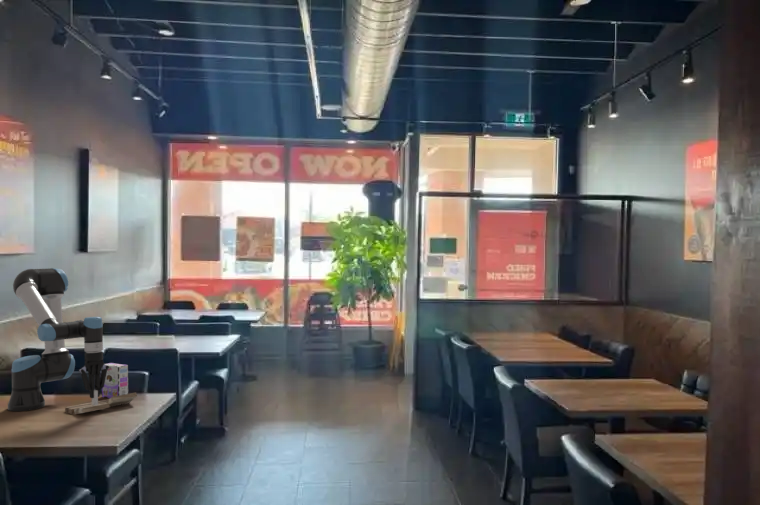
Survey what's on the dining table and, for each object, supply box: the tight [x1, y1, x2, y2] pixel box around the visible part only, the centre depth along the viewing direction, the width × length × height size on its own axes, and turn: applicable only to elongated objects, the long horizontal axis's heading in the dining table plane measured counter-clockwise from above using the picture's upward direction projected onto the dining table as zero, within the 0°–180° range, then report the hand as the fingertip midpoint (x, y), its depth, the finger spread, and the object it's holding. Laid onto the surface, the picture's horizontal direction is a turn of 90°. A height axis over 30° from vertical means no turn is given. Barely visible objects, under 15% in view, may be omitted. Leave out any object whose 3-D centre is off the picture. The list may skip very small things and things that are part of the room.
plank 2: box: [104, 392, 138, 408], centre depth 294 cm, size 8×12×2 cm
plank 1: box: [74, 403, 110, 415], centre depth 283 cm, size 8×12×2 cm
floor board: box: [64, 398, 110, 415], centre depth 293 cm, size 8×27×2 cm, turn 141°
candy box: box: [101, 362, 129, 399], centre depth 313 cm, size 14×6×16 cm, turn 58°
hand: (94, 404), depth 281 cm, fingers closed
